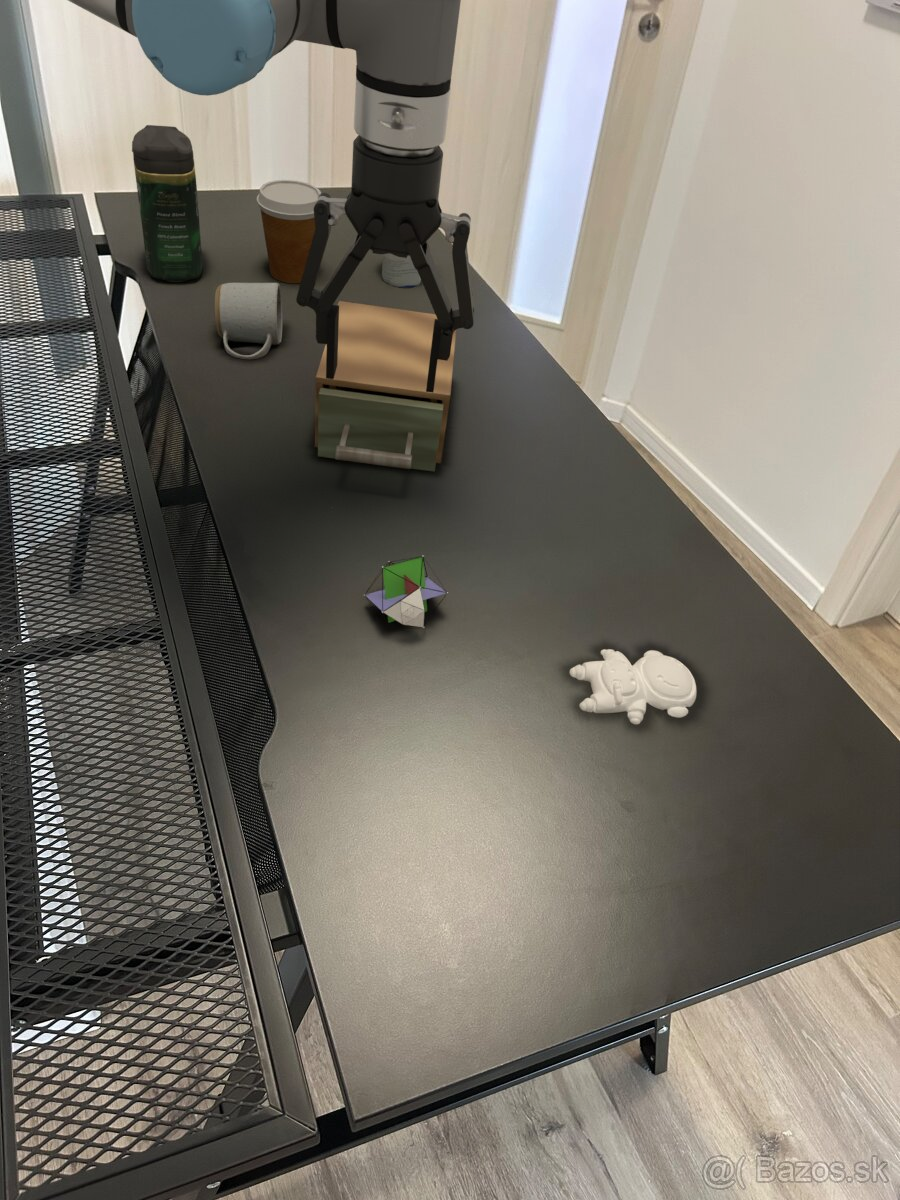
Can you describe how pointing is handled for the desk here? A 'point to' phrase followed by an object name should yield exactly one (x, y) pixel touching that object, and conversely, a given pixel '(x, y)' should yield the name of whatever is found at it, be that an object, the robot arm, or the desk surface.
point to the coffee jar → (168, 202)
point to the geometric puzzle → (405, 592)
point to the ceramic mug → (249, 315)
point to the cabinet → (387, 356)
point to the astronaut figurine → (637, 685)
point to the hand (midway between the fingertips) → (381, 378)
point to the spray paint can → (399, 271)
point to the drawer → (378, 428)
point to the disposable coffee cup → (288, 226)
